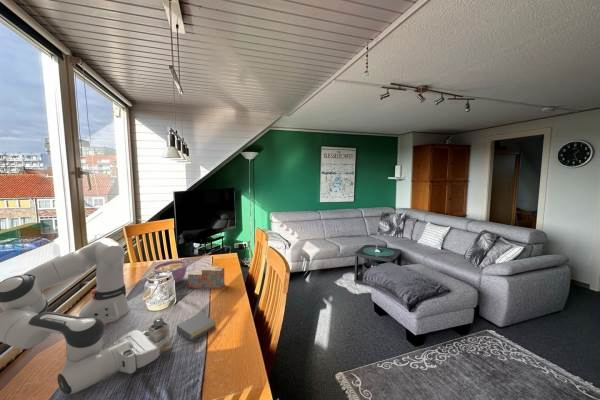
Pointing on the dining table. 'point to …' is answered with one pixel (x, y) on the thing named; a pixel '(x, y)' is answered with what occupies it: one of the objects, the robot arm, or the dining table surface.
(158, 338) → the small grey lidded jar
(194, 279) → the stack of blocks
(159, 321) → the metal canister
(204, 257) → the dining table surface
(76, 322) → the robot arm
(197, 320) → the block
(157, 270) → the bowl of food
